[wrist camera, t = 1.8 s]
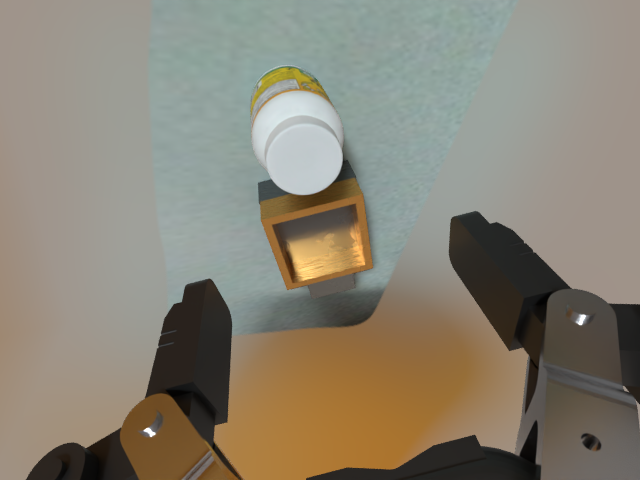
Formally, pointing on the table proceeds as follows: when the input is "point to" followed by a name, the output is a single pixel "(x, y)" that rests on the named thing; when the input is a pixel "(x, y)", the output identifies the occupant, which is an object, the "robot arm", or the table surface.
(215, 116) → the table surface
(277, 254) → the orange open box frame
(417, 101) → the table surface
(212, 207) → the table surface
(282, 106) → the supplement bottle
